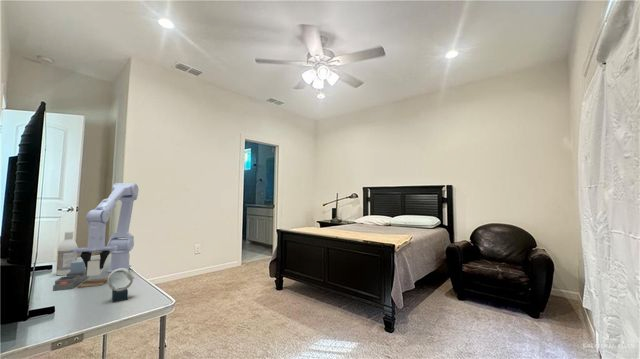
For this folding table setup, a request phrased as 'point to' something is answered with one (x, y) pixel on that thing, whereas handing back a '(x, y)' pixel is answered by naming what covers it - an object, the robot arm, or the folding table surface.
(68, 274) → the power strip
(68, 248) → the bath foam
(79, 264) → the blue charger
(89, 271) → the block
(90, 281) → the walnut board
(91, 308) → the folding table surface
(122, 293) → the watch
